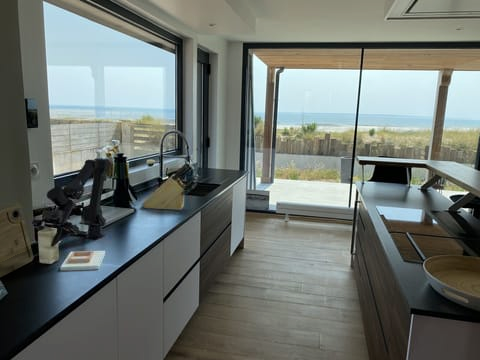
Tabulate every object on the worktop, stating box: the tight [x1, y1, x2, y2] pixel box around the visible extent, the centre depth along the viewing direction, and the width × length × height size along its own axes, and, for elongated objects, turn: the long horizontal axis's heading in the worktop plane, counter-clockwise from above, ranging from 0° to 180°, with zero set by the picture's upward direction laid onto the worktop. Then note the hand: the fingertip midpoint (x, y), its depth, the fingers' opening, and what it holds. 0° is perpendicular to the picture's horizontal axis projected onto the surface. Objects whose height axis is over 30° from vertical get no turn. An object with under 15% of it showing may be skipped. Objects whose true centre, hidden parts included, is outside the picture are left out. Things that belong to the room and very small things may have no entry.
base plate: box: [60, 250, 106, 272], centre depth 151 cm, size 16×14×3 cm
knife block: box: [141, 161, 199, 211], centre depth 238 cm, size 11×35×31 cm, turn 89°
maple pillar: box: [37, 227, 60, 265], centre depth 147 cm, size 5×5×14 cm
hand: (46, 245), depth 146 cm, fingers closed on maple pillar, 5 cm apart
